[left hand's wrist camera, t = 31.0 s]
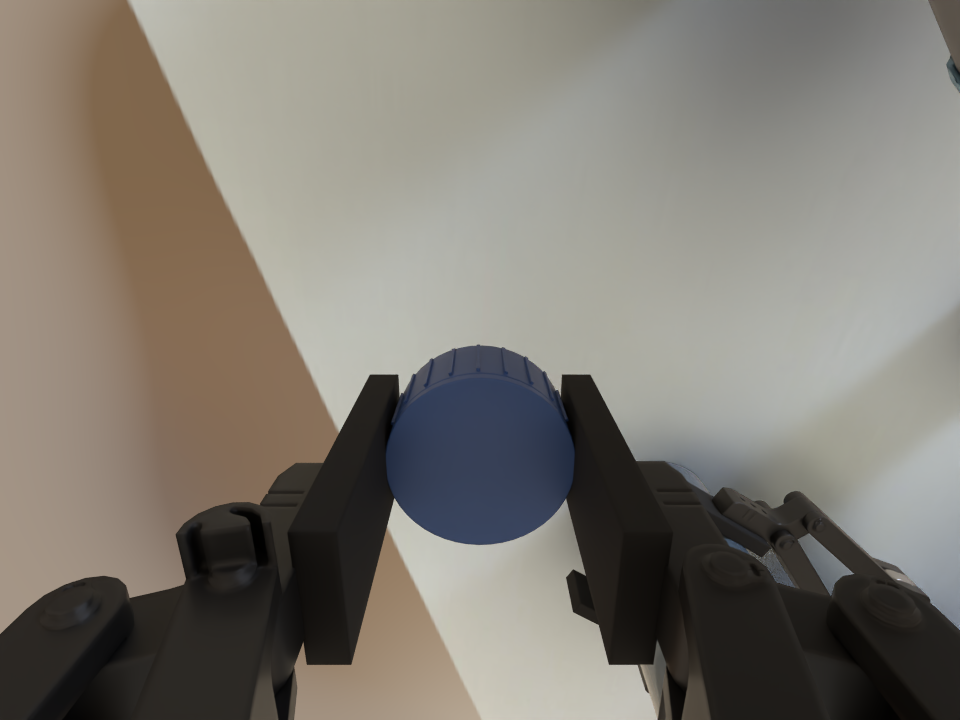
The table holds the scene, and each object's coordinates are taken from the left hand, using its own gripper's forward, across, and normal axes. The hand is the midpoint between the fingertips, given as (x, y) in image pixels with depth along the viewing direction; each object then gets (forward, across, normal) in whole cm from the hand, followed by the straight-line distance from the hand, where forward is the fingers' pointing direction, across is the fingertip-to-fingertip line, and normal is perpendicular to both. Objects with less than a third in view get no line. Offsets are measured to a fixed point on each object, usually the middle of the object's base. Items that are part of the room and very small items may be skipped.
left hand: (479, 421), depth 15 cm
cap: (-2, 0, 0) cm, 2 cm away
